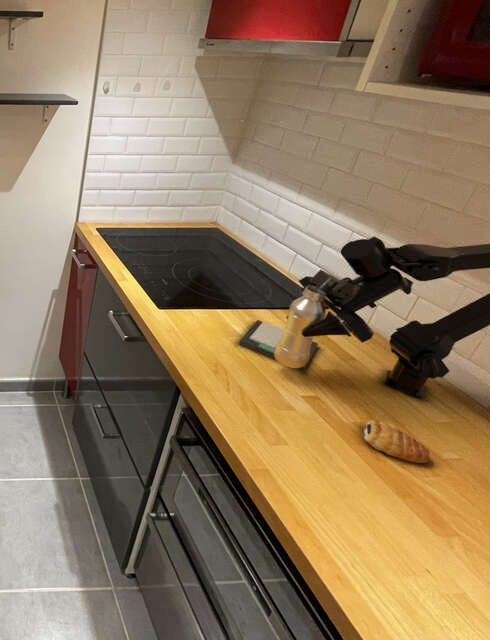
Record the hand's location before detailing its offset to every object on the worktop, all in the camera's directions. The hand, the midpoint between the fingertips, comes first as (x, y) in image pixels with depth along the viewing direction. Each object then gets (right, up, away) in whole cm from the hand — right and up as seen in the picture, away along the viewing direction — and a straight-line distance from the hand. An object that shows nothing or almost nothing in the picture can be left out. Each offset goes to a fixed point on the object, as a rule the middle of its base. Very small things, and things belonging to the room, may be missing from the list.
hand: (294, 326), depth 101 cm
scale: (+7, -8, +15) cm, 18 cm away
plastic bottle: (+1, -10, +4) cm, 10 cm away
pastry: (+8, -21, -13) cm, 26 cm away
